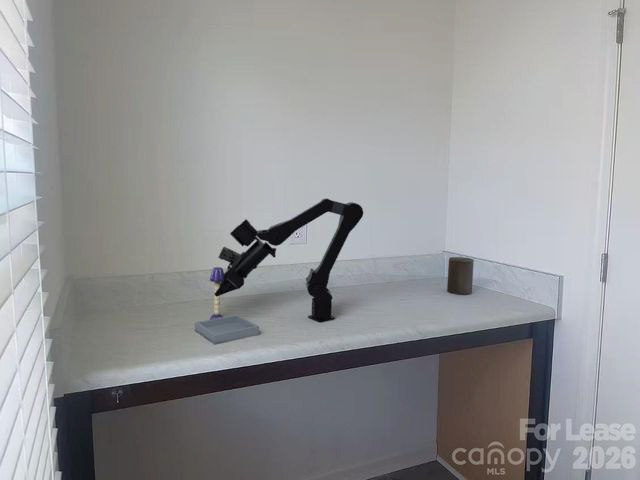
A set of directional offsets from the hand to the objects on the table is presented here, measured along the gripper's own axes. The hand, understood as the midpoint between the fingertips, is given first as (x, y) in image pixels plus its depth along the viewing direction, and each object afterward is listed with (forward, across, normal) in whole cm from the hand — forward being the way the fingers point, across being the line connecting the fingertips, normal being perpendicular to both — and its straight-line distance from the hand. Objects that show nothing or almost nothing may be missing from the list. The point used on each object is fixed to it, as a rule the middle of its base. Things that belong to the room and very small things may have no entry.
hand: (217, 291), depth 143 cm
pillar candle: (-60, -32, +72) cm, 99 cm away
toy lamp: (+6, 0, +7) cm, 9 cm away
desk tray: (+4, +12, +9) cm, 16 cm away
